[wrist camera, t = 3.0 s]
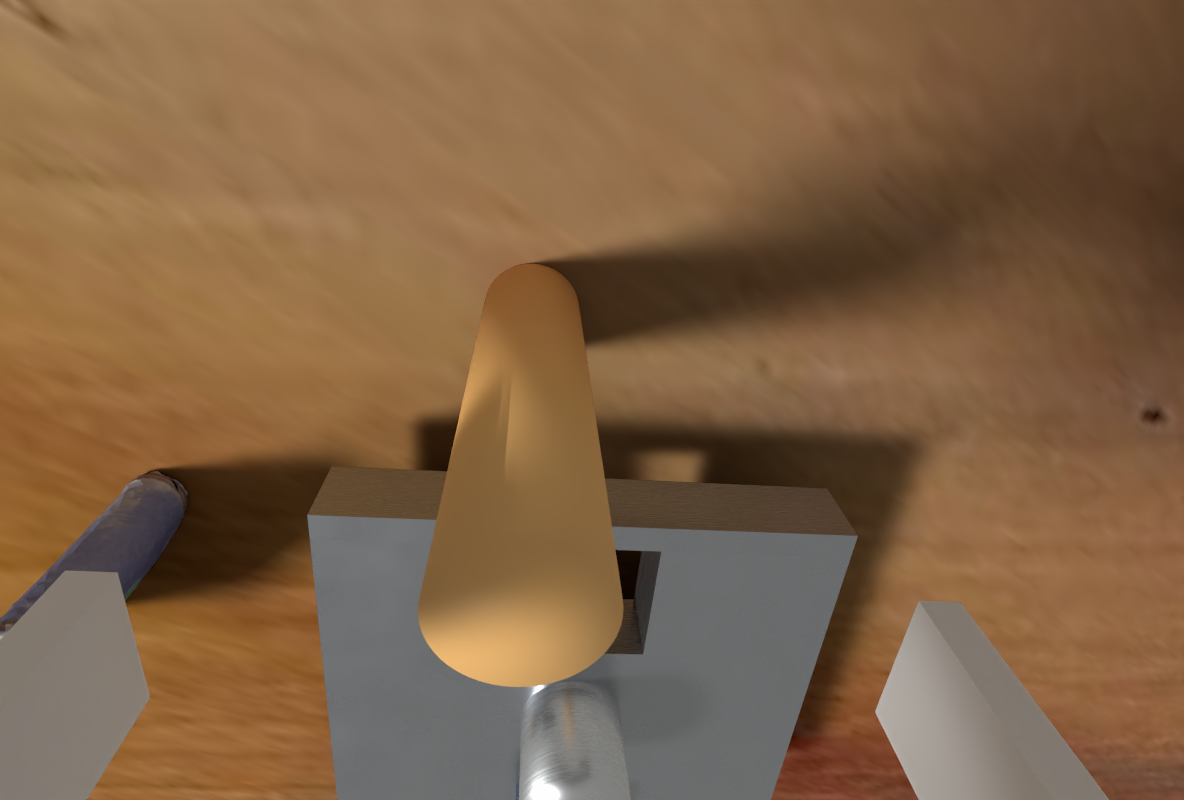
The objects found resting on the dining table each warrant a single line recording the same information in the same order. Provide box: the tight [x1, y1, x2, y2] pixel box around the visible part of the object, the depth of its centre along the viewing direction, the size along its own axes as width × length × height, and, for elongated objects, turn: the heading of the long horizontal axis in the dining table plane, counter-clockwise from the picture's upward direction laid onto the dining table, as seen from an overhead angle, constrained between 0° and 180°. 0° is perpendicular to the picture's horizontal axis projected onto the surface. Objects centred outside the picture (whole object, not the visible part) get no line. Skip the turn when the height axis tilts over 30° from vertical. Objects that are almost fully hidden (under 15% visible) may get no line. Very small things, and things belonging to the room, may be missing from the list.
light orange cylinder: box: [418, 264, 624, 687], centre depth 19 cm, size 4×4×16 cm
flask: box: [0, 471, 189, 640], centre depth 25 cm, size 9×3×11 cm, turn 136°
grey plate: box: [307, 466, 858, 800], centre depth 30 cm, size 22×19×10 cm
